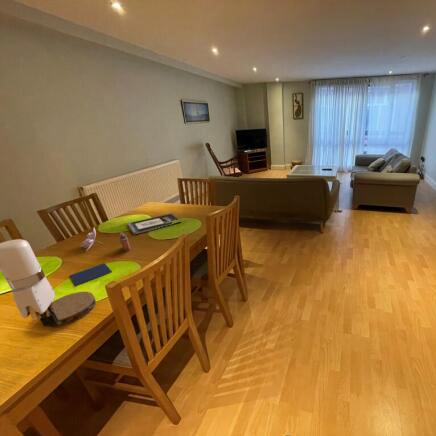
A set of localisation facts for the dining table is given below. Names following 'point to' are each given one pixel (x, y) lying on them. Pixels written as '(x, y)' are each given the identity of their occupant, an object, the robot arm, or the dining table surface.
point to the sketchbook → (151, 223)
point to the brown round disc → (72, 307)
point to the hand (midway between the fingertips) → (51, 323)
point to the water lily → (90, 239)
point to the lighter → (125, 242)
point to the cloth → (90, 274)
